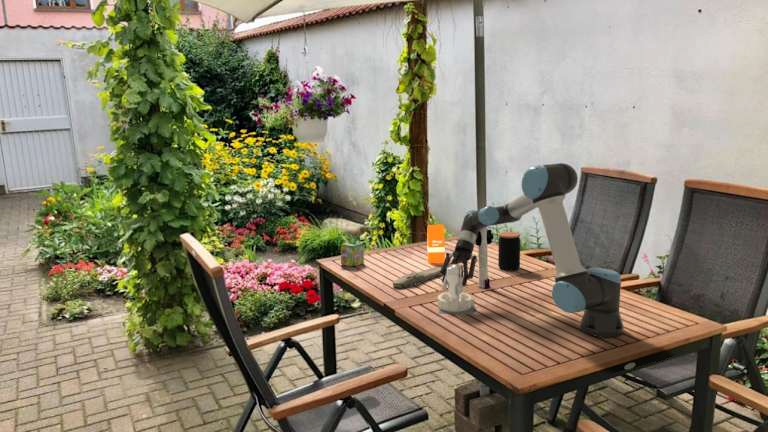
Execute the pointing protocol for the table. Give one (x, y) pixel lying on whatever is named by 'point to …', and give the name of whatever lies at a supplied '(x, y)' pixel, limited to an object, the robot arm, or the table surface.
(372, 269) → the table surface
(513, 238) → the coffee jar
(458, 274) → the beer glass
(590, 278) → the robot arm
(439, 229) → the orange juice
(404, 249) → the table surface
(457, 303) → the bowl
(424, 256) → the table surface
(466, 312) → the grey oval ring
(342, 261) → the green glass canister
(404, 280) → the elongated rock
